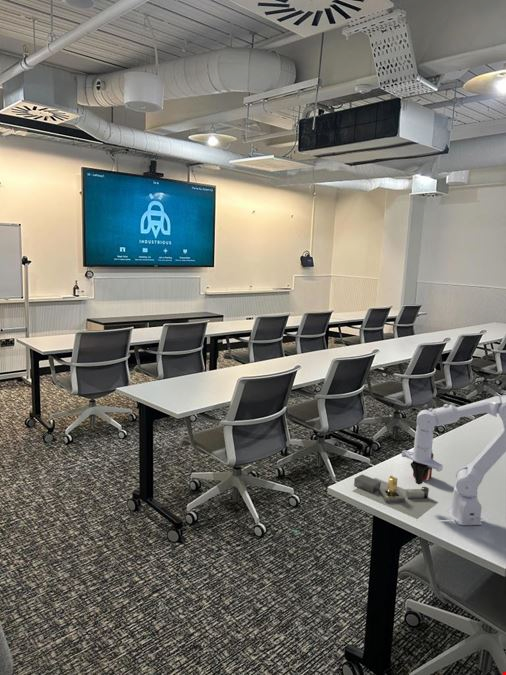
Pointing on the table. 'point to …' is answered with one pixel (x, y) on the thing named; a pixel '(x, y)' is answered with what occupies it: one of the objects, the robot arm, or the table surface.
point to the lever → (417, 493)
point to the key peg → (392, 486)
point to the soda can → (429, 473)
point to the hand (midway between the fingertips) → (419, 483)
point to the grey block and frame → (374, 486)
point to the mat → (410, 507)
